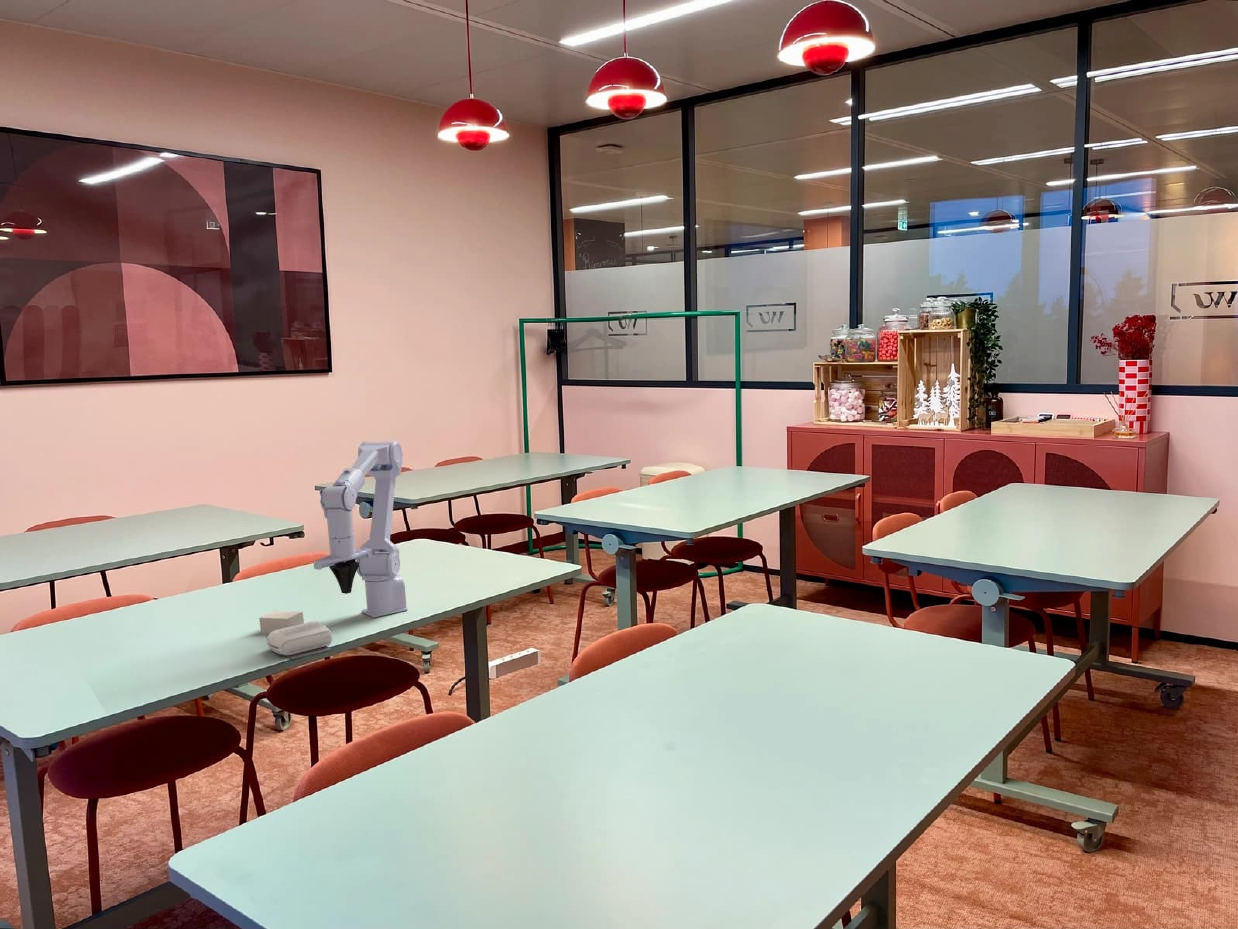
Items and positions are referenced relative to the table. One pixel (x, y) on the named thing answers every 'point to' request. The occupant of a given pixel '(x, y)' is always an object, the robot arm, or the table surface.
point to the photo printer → (299, 638)
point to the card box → (280, 620)
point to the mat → (309, 652)
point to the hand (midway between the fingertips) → (346, 592)
